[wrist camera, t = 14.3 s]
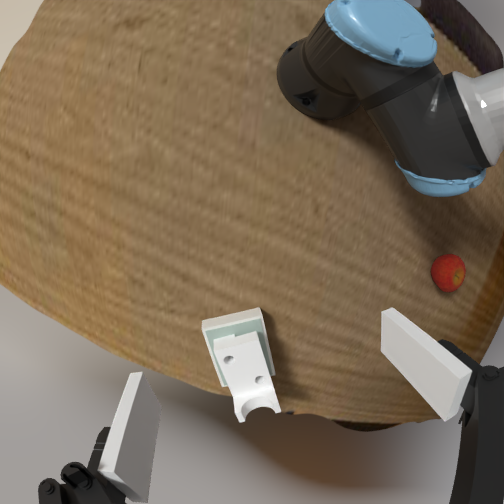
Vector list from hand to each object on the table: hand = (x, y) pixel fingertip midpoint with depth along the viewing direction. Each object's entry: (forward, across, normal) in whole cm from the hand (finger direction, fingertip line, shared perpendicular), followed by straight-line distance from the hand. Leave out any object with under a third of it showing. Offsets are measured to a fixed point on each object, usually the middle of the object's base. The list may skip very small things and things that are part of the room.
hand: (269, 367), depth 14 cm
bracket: (+28, -3, -20) cm, 35 cm away
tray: (+32, -3, -18) cm, 37 cm away
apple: (+32, +41, -15) cm, 54 cm away
